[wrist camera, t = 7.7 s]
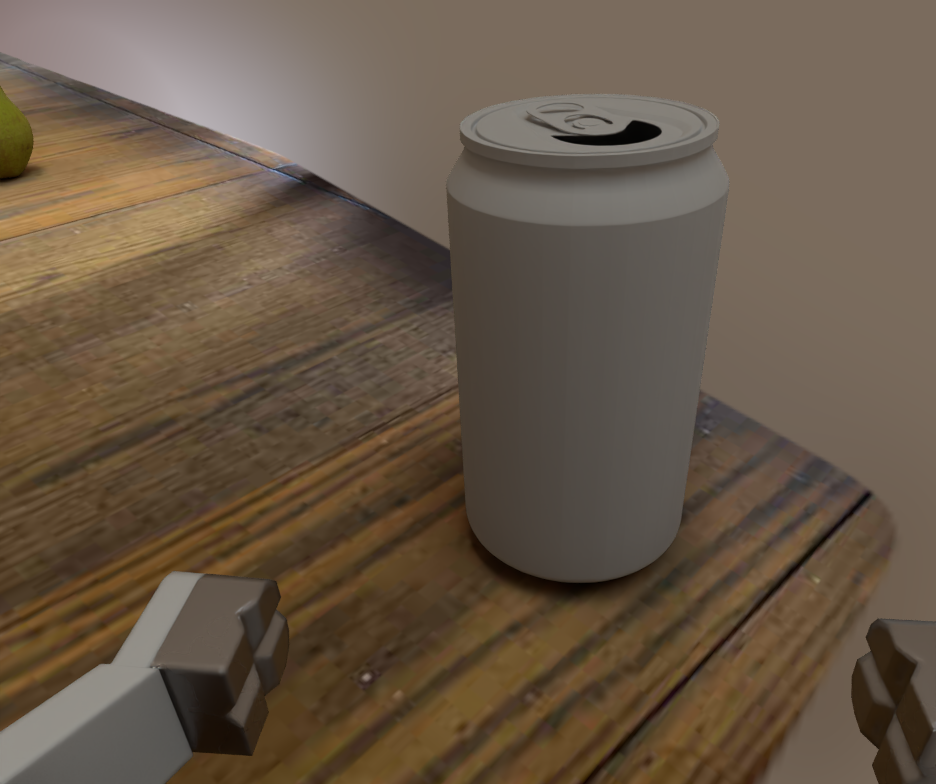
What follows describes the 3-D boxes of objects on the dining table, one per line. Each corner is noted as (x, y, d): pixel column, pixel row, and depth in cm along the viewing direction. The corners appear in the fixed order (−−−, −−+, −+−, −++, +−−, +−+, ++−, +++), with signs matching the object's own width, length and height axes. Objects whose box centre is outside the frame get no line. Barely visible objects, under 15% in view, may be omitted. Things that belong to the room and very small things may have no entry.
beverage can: (538, 637, 19) (544, 176, 13) (431, 496, 24) (396, 109, 18) (724, 548, 22) (808, 120, 15) (593, 435, 27) (614, 75, 20)
